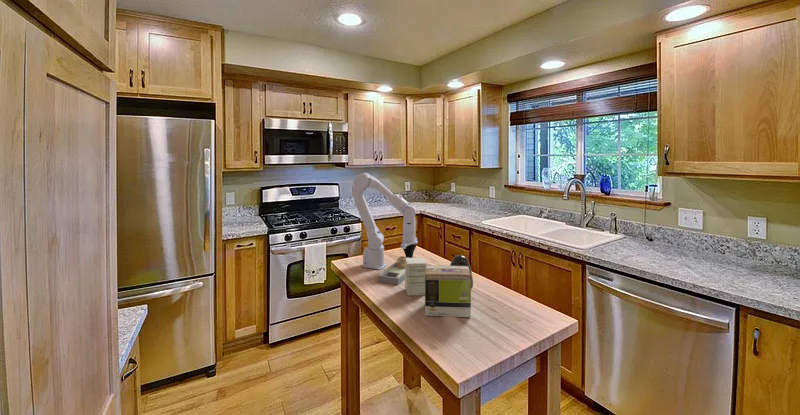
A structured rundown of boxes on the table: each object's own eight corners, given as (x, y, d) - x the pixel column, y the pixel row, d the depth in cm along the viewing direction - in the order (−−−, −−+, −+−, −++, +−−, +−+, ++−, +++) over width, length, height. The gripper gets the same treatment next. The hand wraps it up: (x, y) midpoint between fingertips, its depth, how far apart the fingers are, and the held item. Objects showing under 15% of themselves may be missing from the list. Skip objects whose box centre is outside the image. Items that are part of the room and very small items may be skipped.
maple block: (397, 267, 161) (397, 258, 161) (400, 264, 165) (400, 256, 164) (405, 268, 160) (405, 259, 159) (408, 265, 163) (408, 257, 162)
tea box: (468, 305, 128) (469, 265, 125) (470, 318, 118) (472, 275, 116) (425, 303, 129) (425, 263, 127) (424, 316, 119) (424, 273, 117)
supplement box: (404, 288, 143) (404, 257, 141) (423, 287, 144) (423, 257, 142) (406, 295, 136) (406, 263, 134) (426, 295, 137) (426, 263, 135)
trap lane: (378, 281, 151) (378, 273, 150) (402, 264, 172) (402, 257, 172) (398, 284, 147) (398, 276, 147) (419, 267, 169) (419, 260, 168)
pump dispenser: (449, 300, 132) (450, 259, 130) (443, 289, 143) (443, 251, 140) (476, 298, 133) (477, 259, 131) (468, 288, 144) (469, 251, 141)
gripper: (411, 235, 158) (411, 265, 160) (423, 229, 171) (422, 257, 173) (396, 234, 161) (396, 263, 163) (409, 227, 174) (409, 255, 176)
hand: (409, 260), depth 168 cm, fingers closed
